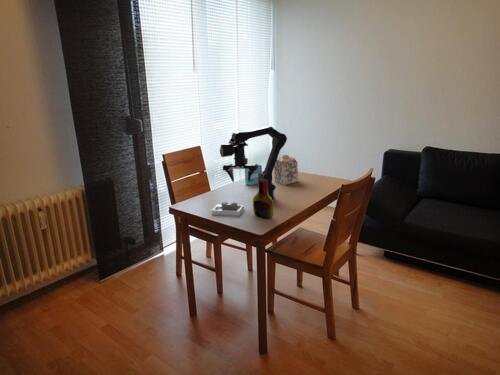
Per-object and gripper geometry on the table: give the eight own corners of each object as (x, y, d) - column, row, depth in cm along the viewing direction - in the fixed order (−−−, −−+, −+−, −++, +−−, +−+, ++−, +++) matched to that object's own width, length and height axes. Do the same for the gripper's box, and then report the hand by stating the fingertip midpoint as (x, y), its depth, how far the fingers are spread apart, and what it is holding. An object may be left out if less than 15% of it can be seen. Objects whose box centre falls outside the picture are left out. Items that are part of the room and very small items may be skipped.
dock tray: (243, 209, 194) (243, 205, 194) (239, 215, 186) (239, 211, 185) (217, 208, 198) (217, 204, 197) (212, 214, 190) (211, 210, 189)
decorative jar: (288, 178, 247) (287, 152, 242) (298, 181, 238) (298, 155, 232) (273, 181, 242) (272, 155, 236) (283, 185, 232) (283, 158, 227)
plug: (238, 209, 192) (237, 202, 191) (236, 212, 189) (236, 205, 188) (219, 208, 195) (218, 202, 194) (216, 211, 192) (216, 204, 190)
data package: (250, 185, 235) (249, 168, 231) (245, 184, 238) (244, 167, 235) (262, 181, 243) (261, 164, 239) (257, 180, 246) (257, 163, 242)
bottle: (276, 216, 182) (275, 179, 176) (269, 221, 177) (267, 182, 171) (258, 212, 189) (256, 176, 183) (250, 216, 185) (248, 179, 179)
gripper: (259, 151, 199) (260, 178, 204) (227, 151, 204) (229, 177, 209) (254, 155, 189) (256, 184, 194) (221, 155, 194) (223, 183, 198)
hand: (241, 182), depth 199 cm, fingers open, 9 cm apart
